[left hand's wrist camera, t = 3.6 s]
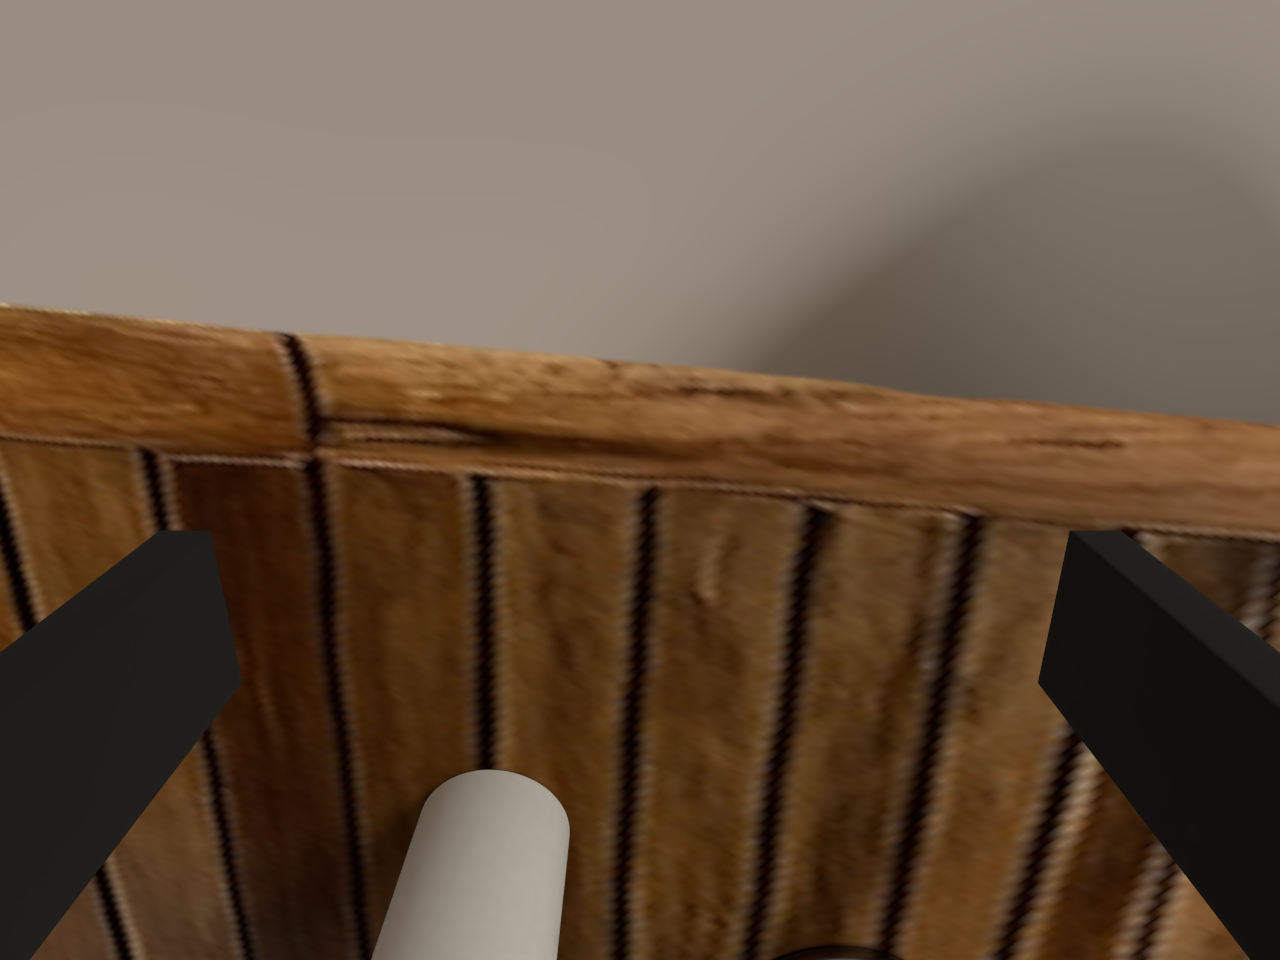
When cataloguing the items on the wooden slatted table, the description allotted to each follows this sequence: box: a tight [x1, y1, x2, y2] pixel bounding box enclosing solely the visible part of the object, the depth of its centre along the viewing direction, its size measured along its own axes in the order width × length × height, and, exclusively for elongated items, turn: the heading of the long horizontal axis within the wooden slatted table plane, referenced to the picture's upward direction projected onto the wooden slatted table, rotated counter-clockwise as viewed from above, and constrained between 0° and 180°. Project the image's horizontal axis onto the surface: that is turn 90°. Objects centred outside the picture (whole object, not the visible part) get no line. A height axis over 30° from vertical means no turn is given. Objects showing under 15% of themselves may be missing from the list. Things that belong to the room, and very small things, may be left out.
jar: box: [371, 770, 570, 960], centre depth 42 cm, size 9×9×17 cm
